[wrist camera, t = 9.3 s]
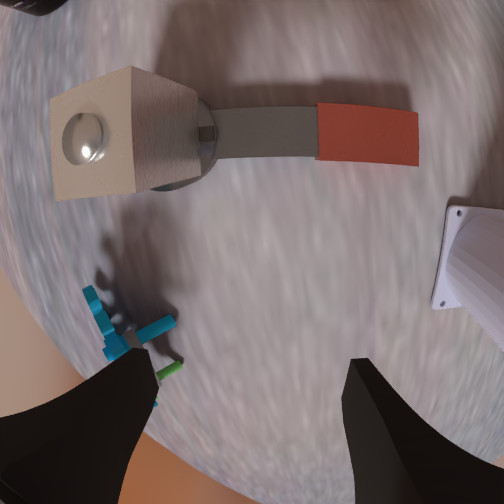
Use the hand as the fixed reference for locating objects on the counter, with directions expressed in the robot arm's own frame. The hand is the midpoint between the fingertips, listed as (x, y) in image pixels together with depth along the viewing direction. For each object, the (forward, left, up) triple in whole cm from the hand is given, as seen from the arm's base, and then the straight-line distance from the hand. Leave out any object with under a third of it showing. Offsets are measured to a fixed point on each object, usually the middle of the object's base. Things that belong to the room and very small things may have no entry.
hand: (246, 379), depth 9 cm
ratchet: (-1, -9, -10) cm, 13 cm away
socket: (+5, -9, -8) cm, 13 cm away
